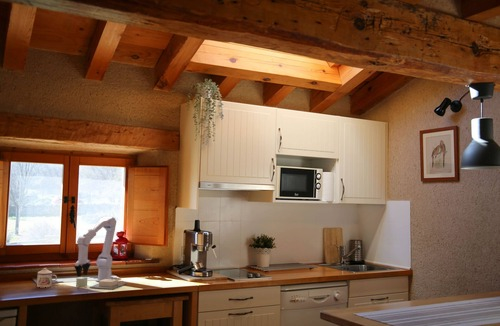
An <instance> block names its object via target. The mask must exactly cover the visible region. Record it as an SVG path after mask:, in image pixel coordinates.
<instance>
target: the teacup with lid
mask: <svg viewBox="0 0 500 326" xmlns="http://www.w3.org/2000/svg"><path fill="white" fill-rule="evenodd" d="M36 274H37V276H36V277H37V280H36V287H37V288H39V287H40V288H41V289H45V287H46V288H51V287H52V283H55V282H56V281H57V280H58V276H57V275H56V274H53V271H51V270H49V269H47V267H43V269H41V270H40V271H37V273H36ZM53 277H55V280H53V281H52V279H53Z"/></svg>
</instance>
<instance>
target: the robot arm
mask: <svg viewBox="0 0 500 326" xmlns="http://www.w3.org/2000/svg"><path fill="white" fill-rule="evenodd" d="M116 225H117V220H116V218H115V217H114V216H112V217H108V216H102V217H101V218H100V219H99V221H98V223H97V224H96V225H95V226H94V227H93V228H90V229H87V231H86V232H85V233H84V234H83V235H81V236H79V237H78V239H77V240H76V242H77V247H78V258H77V259H78V260H77V261H76V262H75V265H73V266H74V269H75V272H76V276H77V278H80V277H82V273H83V275H84V276H87V275H88V271H89V269H90V267H91V263H90V262H91V259H88V254H89V245H90V244H91V241H92V240H93V239H94V238H95V237H96V236H97V233H98V232H99V231H101V229H102V228H104V230H105V231H106V233H105V237H104V242H103V247H102V250H101V253H100V254H99V255H98V257H97V259H96V261H95V263H96V266H97V268H98V275H97V276H98V277H97V279H96V280H95V282H99V281H101V280H104V279H112V269H111V268H112V266H113V257H112V255H111V252H112V251H111V250H112V247H113V246H112V245H113V243H114V242H113V241H114V236H115V232H116Z"/></svg>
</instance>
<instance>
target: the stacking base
mask: <svg viewBox="0 0 500 326" xmlns="http://www.w3.org/2000/svg"><path fill="white" fill-rule="evenodd" d="M126 285H127V283H126V282H119V279H114V278H111V279H104V280H101V281H98V283H97V284H93V285H91V286H89V289H93V290H96V289H97V290H108V291H109V290H110V291H113V290H116V289H118V288H121V287H124V286H126Z"/></svg>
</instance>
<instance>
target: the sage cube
mask: <svg viewBox="0 0 500 326" xmlns="http://www.w3.org/2000/svg"><path fill="white" fill-rule="evenodd" d="M75 281H76V283H75V286H76V287H82V288H83V287H86V286H88V277H82V276H81V277H77V278H76V280H75Z"/></svg>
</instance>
